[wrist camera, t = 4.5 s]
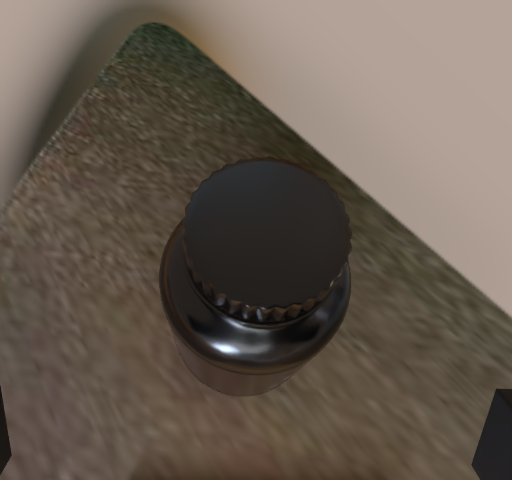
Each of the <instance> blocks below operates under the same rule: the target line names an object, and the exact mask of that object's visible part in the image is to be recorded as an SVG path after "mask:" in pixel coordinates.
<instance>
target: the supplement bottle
mask: <svg viewBox="0 0 512 480" xmlns="http://www.w3.org/2000/svg"><path fill="white" fill-rule="evenodd" d="M185 214H186V216H185V217H184V218H183V219H182V220H181V222H180V223H179V224H178V225H177V226H176V228H175V229H174V231H173V232H172V234H171V236H170V238H169V240H168V242H167V244H166V246H165V249H164V252H163V255H162V258H161V264H160V271H159V287H160V295H161V300H162V304H163V308H164V311H165V314H166V317H167V320H168V323H169V325H170V328H171V331H172V334H173V337H174V339H175V342H176V345H177V348H178V351H179V353H180V355H181V357H182V359H183V361H184V363H185V365H186V366H187V368H188V369H189V370H190V372H191V373H192V374H193V375H194V376H195V377H196V378H197V379H198V380H199V381H201V382H202V383H203V384H205V385H206V386H208V387H209V388H211V389H213V390H215V391H218V392H220V393H223V394H227V395H232V396H254V395H258V394H262V393H265V392H268V391H270V390H272V389H274V388H276V387H278V386H280V385H281V384H282V383H284V382H285V381H287V380H288V379H289V378H290V377H291V376H293V375H294V374H295V373H296V372H297V371H298V370H299V369H301V368H302V367H303V366H304V365H305V364H306V363H308V362H309V361H310V360H311V359H312V358H313V357H314V356H316V355H317V354H318V353H319V352H320V351H321V350H322V349H323V348H324V347H325V346H326V345H327V344H328V343H329V342H330V340H331V339H332V338H333V336H334V335H335V333H336V332H337V331H338V329H339V327H340V325H341V324H342V322H343V319H344V317H345V315H346V312H347V308H348V305H349V300H350V293H351V273H350V267H349V262H348V255H349V253H350V252H351V250H352V246H351V243H350V239H351V236H352V231H351V229H350V227H349V219H350V218H349V217H348V215H347V214H346V212H345V207H344V204H343V203H342V201H340V200H339V199H338V196H337V193H336V191H335V190H333V189H332V188H330V187H329V185H328V183H327V182H326V180H324V179H322V178H320V177H318V176H317V174H316V173H315V172H314V171H312V170H308V169H305V168H304V167H303V166H302V165H301V164H296V163H291V162H290V161H288V160H286V159H275V158H272V157H266V158H259V157H253V158H251V159H248V160H246V159H240V160H238V161H236V162H235V163H233V164H226V165H225V166H223V168H222V169H221V170H217V171H214V172H212V174H211V175H210V177H209V178H208V179H205V180H204V181H202V182H201V184H200V187H199V189H197V190H196V191H195V192H193V193H192V196H191V202H190V203H188V205H187V206H186V208H185Z"/></svg>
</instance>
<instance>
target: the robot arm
mask: <svg viewBox="0 0 512 480" xmlns="http://www.w3.org/2000/svg"><path fill="white" fill-rule="evenodd" d="M11 456H12V455H11V448H10V442H9V436H8V430H7V424H6V418H5V411H4V405H3V399H2V393H1V387H0V475H1V473H2V471H3V469H4V468H5V466H6V464H7V462H8V461H9V459H10V457H11ZM472 467H473V468H474V470H475V472H476V473H477V475H478V477H479V478H480V480H512V389H496V391H495V394H494V397H493V400H492V403H491V406H490V410H489V413H488V416H487V419H486V422H485V425H484V428H483V431H482V434H481V437H480V440H479V443H478V446H477V449H476V452H475V455H474V458H473V462H472Z"/></svg>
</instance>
